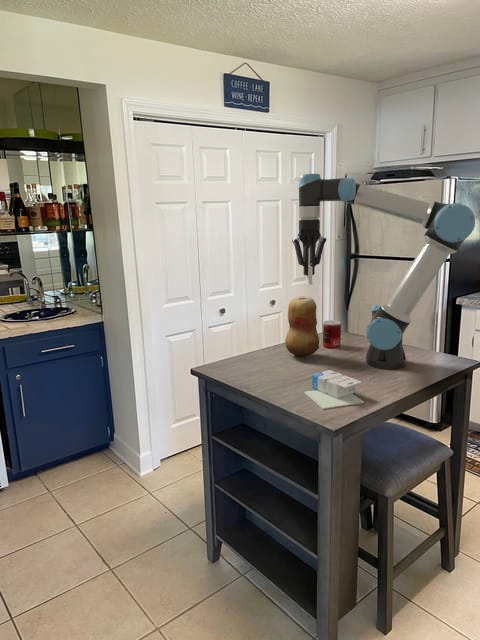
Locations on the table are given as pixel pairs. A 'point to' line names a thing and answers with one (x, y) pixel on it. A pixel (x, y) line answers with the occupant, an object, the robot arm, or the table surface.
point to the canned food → (331, 334)
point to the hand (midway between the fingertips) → (308, 284)
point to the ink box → (334, 383)
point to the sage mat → (332, 399)
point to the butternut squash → (302, 327)
